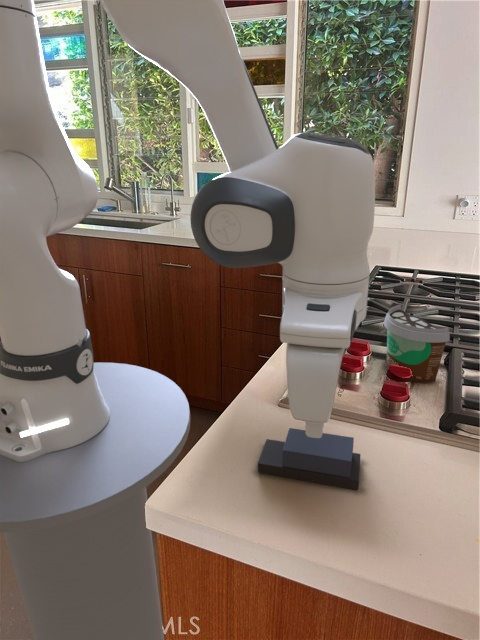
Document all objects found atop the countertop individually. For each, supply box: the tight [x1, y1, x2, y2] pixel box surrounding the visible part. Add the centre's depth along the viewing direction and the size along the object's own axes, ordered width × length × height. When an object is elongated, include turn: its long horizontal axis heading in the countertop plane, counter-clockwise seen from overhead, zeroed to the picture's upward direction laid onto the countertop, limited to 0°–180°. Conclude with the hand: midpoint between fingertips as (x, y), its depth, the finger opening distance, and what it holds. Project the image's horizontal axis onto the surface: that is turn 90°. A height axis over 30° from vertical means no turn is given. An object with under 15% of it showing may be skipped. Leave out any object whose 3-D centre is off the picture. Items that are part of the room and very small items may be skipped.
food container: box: [383, 304, 451, 384], centre depth 77 cm, size 12×6×10 cm, turn 21°
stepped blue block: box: [257, 427, 361, 491], centre depth 57 cm, size 12×5×4 cm, turn 74°
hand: (319, 410), depth 54 cm, fingers open, 8 cm apart
